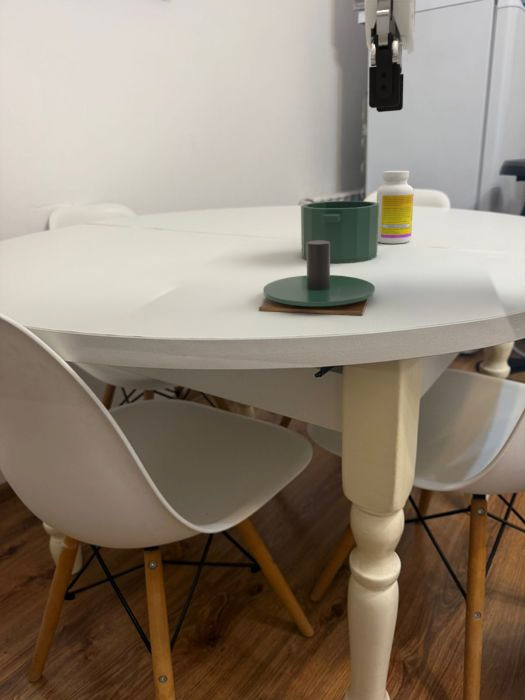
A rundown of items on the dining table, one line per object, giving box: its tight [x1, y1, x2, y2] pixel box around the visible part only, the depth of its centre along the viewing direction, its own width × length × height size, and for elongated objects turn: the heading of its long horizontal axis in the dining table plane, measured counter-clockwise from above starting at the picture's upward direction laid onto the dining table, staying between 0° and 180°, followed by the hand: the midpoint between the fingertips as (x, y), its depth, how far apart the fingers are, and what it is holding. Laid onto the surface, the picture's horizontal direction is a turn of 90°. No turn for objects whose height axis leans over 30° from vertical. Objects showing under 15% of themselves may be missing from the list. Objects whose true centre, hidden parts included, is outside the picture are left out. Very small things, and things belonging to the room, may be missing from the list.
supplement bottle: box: [376, 170, 414, 245], centre depth 101 cm, size 7×7×13 cm
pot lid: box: [262, 240, 376, 307], centre depth 65 cm, size 14×14×7 cm
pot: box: [300, 200, 379, 264], centre depth 91 cm, size 13×18×8 cm
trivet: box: [258, 297, 371, 316], centre depth 66 cm, size 12×12×1 cm
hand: (386, 109), depth 63 cm, fingers open, 9 cm apart
